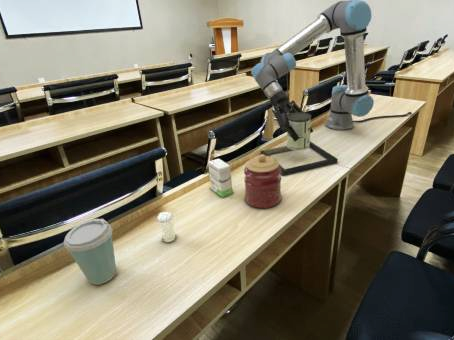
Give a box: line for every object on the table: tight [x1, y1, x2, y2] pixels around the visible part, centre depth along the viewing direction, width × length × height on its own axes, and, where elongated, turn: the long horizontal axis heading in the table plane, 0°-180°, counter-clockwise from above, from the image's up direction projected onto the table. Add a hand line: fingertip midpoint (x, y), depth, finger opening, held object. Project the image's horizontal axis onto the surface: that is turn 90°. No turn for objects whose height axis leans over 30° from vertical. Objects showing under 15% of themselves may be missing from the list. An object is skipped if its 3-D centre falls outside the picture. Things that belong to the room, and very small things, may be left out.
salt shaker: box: [153, 211, 176, 243], centre depth 91 cm, size 4×5×10 cm
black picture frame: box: [259, 141, 339, 176], centre depth 141 cm, size 27×23×2 cm
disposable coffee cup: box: [63, 218, 117, 286], centre depth 77 cm, size 11×11×15 cm
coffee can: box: [286, 111, 312, 151], centre depth 135 cm, size 10×10×14 cm
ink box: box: [207, 158, 234, 198], centre depth 115 cm, size 9×5×12 cm, turn 38°
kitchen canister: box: [243, 154, 282, 209], centre depth 108 cm, size 13×13×18 cm
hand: (304, 136), depth 134 cm, fingers closed on coffee can, 10 cm apart
